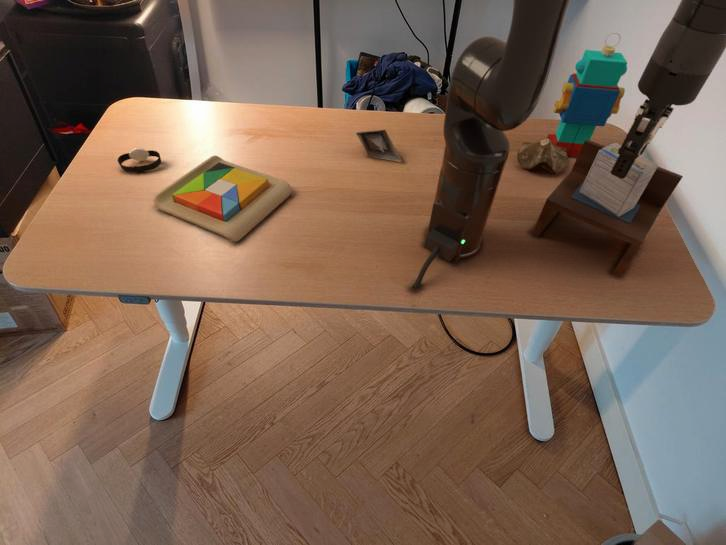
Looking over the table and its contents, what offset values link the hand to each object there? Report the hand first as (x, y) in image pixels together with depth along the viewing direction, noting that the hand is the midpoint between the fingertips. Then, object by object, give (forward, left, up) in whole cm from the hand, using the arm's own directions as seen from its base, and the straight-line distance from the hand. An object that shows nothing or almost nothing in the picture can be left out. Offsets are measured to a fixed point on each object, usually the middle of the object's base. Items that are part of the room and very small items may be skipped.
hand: (626, 163), depth 74 cm
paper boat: (-6, +44, -16) cm, 47 cm away
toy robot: (+25, +14, -16) cm, 33 cm away
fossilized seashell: (+15, +16, -16) cm, 27 cm away
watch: (-40, +76, -16) cm, 87 cm away
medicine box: (0, 0, -8) cm, 8 cm away
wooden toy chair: (0, 0, -16) cm, 16 cm away
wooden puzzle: (-36, +56, -16) cm, 68 cm away
